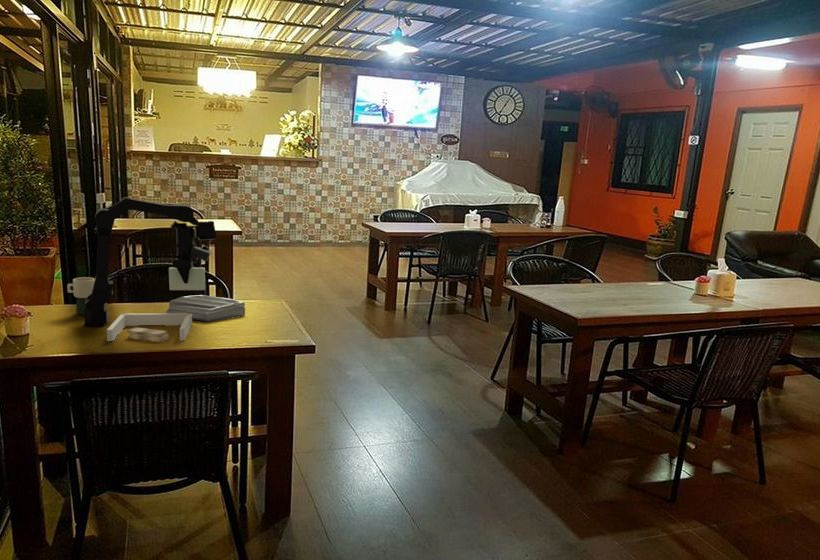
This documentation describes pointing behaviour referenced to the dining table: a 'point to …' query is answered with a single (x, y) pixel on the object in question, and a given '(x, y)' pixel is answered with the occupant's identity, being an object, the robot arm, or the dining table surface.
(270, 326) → the dining table surface
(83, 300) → the character mug
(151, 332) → the offcut stack
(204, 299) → the emblem
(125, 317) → the rack
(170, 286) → the pale green rectangular slab
